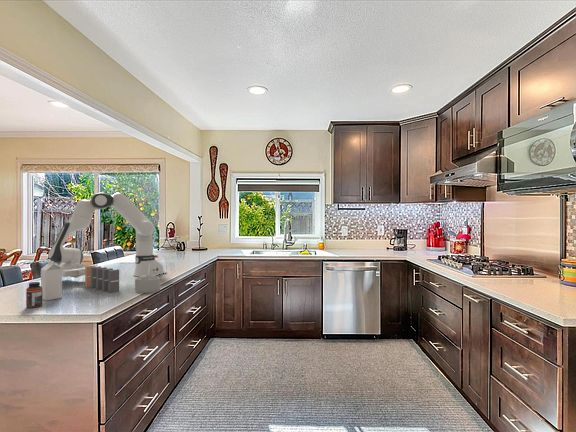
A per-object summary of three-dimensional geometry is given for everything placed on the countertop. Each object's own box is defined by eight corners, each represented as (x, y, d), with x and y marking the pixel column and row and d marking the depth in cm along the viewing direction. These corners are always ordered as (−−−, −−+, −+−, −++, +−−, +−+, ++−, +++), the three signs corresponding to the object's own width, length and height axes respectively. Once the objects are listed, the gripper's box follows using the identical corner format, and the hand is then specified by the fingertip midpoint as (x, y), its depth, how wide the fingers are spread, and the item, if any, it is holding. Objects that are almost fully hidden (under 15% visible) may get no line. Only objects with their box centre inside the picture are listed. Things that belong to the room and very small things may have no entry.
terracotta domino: (85, 286, 197) (85, 266, 197) (93, 285, 201) (93, 265, 201) (86, 286, 196) (86, 266, 196) (95, 285, 200) (95, 265, 200)
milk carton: (45, 301, 163) (45, 262, 163) (40, 298, 168) (40, 261, 168) (62, 298, 169) (62, 261, 169) (56, 296, 173) (57, 259, 173)
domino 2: (96, 289, 189) (96, 268, 189) (105, 287, 194) (105, 267, 194) (98, 289, 188) (98, 268, 188) (106, 288, 192) (107, 267, 192)
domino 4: (108, 292, 182) (108, 270, 182) (117, 290, 186) (117, 269, 186) (110, 292, 181) (110, 270, 181) (119, 291, 185) (119, 269, 185)
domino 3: (102, 290, 186) (102, 269, 186) (111, 289, 190) (111, 268, 190) (104, 291, 185) (104, 269, 185) (112, 289, 189) (113, 268, 189)
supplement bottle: (23, 307, 152) (24, 282, 152) (39, 304, 157) (39, 280, 157) (29, 309, 149) (29, 284, 149) (44, 306, 154) (44, 282, 154)
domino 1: (90, 287, 193) (90, 267, 193) (99, 286, 197) (99, 266, 197) (92, 288, 192) (92, 267, 192) (101, 286, 196) (101, 266, 196)
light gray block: (143, 288, 194) (144, 273, 194) (164, 289, 191) (164, 274, 191) (132, 292, 184) (132, 276, 184) (153, 293, 181) (153, 277, 181)
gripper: (56, 267, 200) (67, 269, 192) (92, 263, 217) (103, 265, 209) (56, 277, 200) (67, 280, 192) (92, 273, 217) (103, 275, 209)
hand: (86, 272), depth 201 cm, fingers closed
